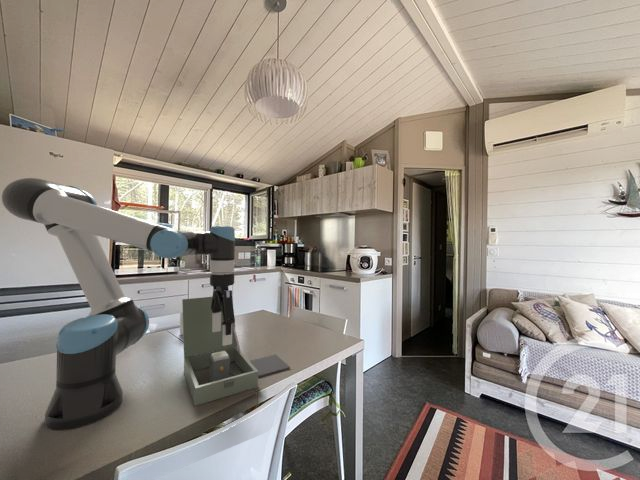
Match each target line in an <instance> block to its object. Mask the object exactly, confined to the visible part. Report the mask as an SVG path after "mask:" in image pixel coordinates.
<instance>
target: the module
mask: <svg viewBox="0 0 640 480" xmlns="http://www.w3.org/2000/svg"><path fill="white" fill-rule="evenodd" d="M230 363H231V362H230V358H229V355H228V354H227V353H226V351H221V352H216V353H211V356H210V367H209V374H208V375H209V376H208V377H209V379H210V381H211V382H214V381H218V380H222V379H225V378H229V377H230Z"/></svg>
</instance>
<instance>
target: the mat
mask: <svg viewBox="0 0 640 480" xmlns="http://www.w3.org/2000/svg"><path fill="white" fill-rule="evenodd" d="M249 361H250V362H251V363H252V365H253V366H254V367H255V368H256V369H257V370H258V379H259V378H262V377H266V376H269V375H272V374H276V373H279V372H283V371H286V370H290V369H291V367H290V365H288V364H287V363H286V362H285V361H284V360H283V359H282V358H280V357H279V356H278V355H277V354H272V355H267V356H264V357H260V358H255V359H250V360H249Z"/></svg>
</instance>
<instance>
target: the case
mask: <svg viewBox="0 0 640 480" xmlns="http://www.w3.org/2000/svg"><path fill="white" fill-rule="evenodd" d="M233 300H234V299H233V298H232V301H233ZM181 301H182V303H181V304H182V305H181V306H182V310H183V336H182V337H183V372H184V373H183V374H184V377H185V380H186V383H187V385H188V389H189V392H190V394H191V398H192V402H193V403H194V404H193V405H194V406H195V407H196V406H198V405H199V406H200V405H203V404H205V403H209V402H212V401H215V400H218V399H222V398H225V397H228V396H231V395H236V394H238V393H243V392H246V391H249V390H251V389H255V388H258V387H259V378H258V370H257V369H256V368H255V367H254V366H253V365H252V363H251V362H250V361H251V360H249V359H248V358H247V356H245V354H244V353H243V352H242V351H241V348H240V347H241V346H240V342H239V340H238V335H237V331H236V322H235V323H232V344H230V345H225V346H223V345H222V338H223V325H222V322H224V321H223V315H222V311H220V312H221V331H218V332H212V310H211V303H212V296H205V297H195V298H185V299H181ZM233 302H234V301H233ZM213 313H214V312H213ZM228 320H229V319H228ZM221 351H226V353H227V354H228V355H229V358H230V363H231V362H235V363H236V365H237V366H238V367H239V369H240V370H241V371H242V373H240V374H238V375H234V376H229V378H225V379H222V380H218V381H214V382H206V383H204V384H200V385H199V382H198V380H197V377H196V375H195V372H194V371H198V370H202V369H207V368H210V356H211V353H216V352H221Z"/></svg>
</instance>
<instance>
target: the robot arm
mask: <svg viewBox="0 0 640 480" xmlns="http://www.w3.org/2000/svg"><path fill="white" fill-rule="evenodd" d="M1 202H2V204H3V206H4V208H5V209H6V210H7V211H8V212H9V213H10V214H12V215H13V216H15V217H17V218H18V219H22V220H26V221H31V222H34V223H40V224H42V225H44V228H45V229H46V232H47V233H48V234H49V235H51V236H55V237H57V239H58V240H59V243H60V245H61V247H62V250H63V252H64V254H65V256H66V258H67V260H68V263H69V264H70V266H71V268H72V272H73V273H74V275H75V277H76V279H77V281H78V284H79V286H80V288H81V290H82V292H83V295H84V296H85V299H86V300H87V302H88V305H89V307H90V312H89V314H88V315H87V316H86V317H80V318H77V319H75V320H72V321H70V322H68V323H66V324H65V325H63V326H62V327H61V328H60V329H59V331H58V334H57V335H58V337H57V341H56V343H55V346H56V380H55V381H56V383H55V384H56V385H55V386H56V387H55V389H54V392H53V395H52V397H51V399H50V401H49V404H48V406H47V407H46V408H47V409H46V410H45V414H44V416H45V417H44V425H46V426H47V427H48V428H47V427H46V426H45V427H46V428H47V429H49V428H50V430H53V429H54V430H53V431H62V430H63V431H65V430H66V431H67V430H72V429H77V428H81V427H84V426H88V425H91V424H93V423H95V422H97V421H100V420H101V419H104V418H105V417H107V416H110V415H111V414H112V413H113V412H115V411H116V410H117V409H118V408H119V407H120V406H121V405H122V403H123V395H124V394H123V389H122V386H121V384H120V381H119V379H118V376H117V374H116V373H117V372H116V365H117V359H116V358H117V355H119V354H120V353H122V352H123V351H125V350H127V349H128V348H129V347H131V346H133V345H136V343H137V342H139V340H140V339H142V337H144V336H145V335H146V333H147V331H148V329H149V327H150V317H149V315H148V312H146V310H145V309H143V308H142V307H139V306H136V304H135V302H134V300H133V298H130V297H126V296H125V294H124V292H123V290H122V288H121V285H120V283H119V281H118V279H117V276H116V274H115V272H114V270H113V268H112V266H111V264H110V262H109V259H108V257H107V255H106V253H105V251H104V248H103V246H102V244H101V242H100V240H99V238H98V237H101V238H104V239H108V240H112V241H115V242H118V243H122V244H124V245H125V244H126V245H129V246H132V247H134V248H135V247H136V248H138V249H142V250H145V251H149V252H152V253H154V254H155V255H156V256H157V257H159V258H163V259H176V258H180V257H185V256H195V255H196V256H197V255H200V256H202V255H203V256H204V255H205V256H206V255H207V256H209V257H210V259H209V272H210V273H211V274H210V275H209V285H210V286H212V287H213V291H212V296H211V297H212V303H211V310H212V332H218V331H221V312H220V311H222V315H223V321H224V322H222V325H223V338H222V345H223V346H225V345H230V344H232V323H235V324H236V319H235V318H236V317H235V310H234V301H232V299H233V291H232V290H229V286H233V285H234V284H235V273H234V272H235V266H236V265H237V263H236V262H235V257H236V256H235V251H236V238H235V237H236V236H235V233H236V232H235V229H234V227H233V226H230V225H211V226H210V230H209V231H191V230H190V231H188V230H179V229H174V228H171V227H168V226H164V225H161V224H157V223H154V222H151V221H147V220H145V219H141V218H139V217H138V218H137V217H135V216H133V215H128V214H126V213H121V212H119V211H116V210H112V209H110V208H105V207H102V206H100V205H98V204H97V203H98V202H97V201H96V199H95V198H94V197H93V196H92V194H91V193H89V192H87V191H86V190H83V189H81V188H78V187H76V186H71V185H64V184H60V183H57V182H53V181H49V180H46V179H41V178H36V177H35V178H33V177H26V178H25V177H24V178H20V179H16V180H13V181H12V182H10V183H9V184H7V185H6V186H5V187H4V189H3V191H2V194H1ZM213 312H214V313H213ZM228 319H229V320H228Z"/></svg>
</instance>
